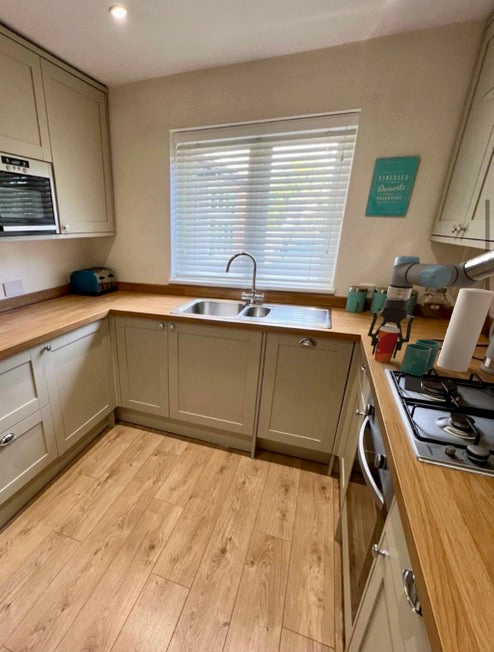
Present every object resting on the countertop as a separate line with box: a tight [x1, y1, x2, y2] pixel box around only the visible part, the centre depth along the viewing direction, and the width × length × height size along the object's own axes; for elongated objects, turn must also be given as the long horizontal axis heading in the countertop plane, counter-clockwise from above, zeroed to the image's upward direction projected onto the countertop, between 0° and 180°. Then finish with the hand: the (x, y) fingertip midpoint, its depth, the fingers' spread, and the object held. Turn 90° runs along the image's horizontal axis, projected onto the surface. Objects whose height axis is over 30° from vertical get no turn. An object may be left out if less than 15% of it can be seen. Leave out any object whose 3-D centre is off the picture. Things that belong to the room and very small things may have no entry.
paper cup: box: [374, 323, 400, 364], centre depth 130 cm, size 8×8×14 cm
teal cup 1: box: [399, 343, 432, 377], centre depth 119 cm, size 7×7×10 cm
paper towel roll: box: [436, 287, 494, 373], centre depth 122 cm, size 9×9×30 cm
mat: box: [403, 375, 440, 397], centre depth 110 cm, size 12×12×1 cm
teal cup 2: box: [414, 338, 441, 372], centre depth 125 cm, size 7×7×10 cm
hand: (383, 355), depth 132 cm, fingers closed on paper cup, 7 cm apart
